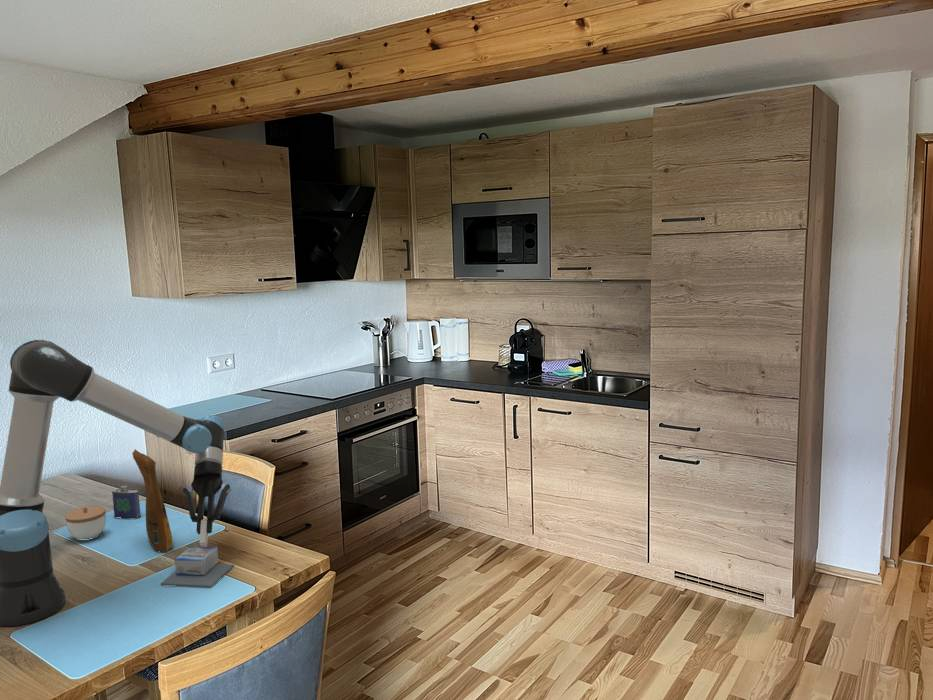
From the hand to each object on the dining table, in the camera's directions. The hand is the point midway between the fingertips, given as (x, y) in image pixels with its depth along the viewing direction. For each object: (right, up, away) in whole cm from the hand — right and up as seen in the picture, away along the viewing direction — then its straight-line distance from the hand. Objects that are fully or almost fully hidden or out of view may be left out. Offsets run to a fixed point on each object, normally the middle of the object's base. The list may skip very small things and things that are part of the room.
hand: (203, 544), depth 186 cm
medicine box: (-1, -4, +4) cm, 6 cm away
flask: (-40, -3, +40) cm, 57 cm away
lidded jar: (-45, -5, +25) cm, 51 cm away
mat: (0, -8, -3) cm, 8 cm away
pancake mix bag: (-20, -5, +18) cm, 28 cm away
